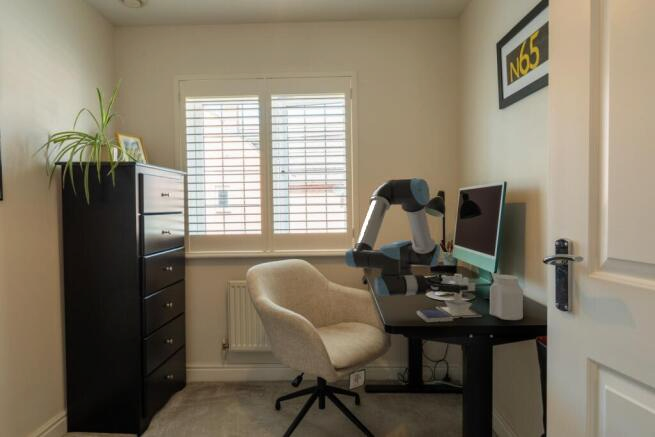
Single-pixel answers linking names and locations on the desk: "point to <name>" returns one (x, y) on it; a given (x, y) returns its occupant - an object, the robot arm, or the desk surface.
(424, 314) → the ink pad
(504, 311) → the jar
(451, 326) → the desk surface
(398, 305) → the desk surface
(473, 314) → the card sheet
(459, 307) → the figurine
